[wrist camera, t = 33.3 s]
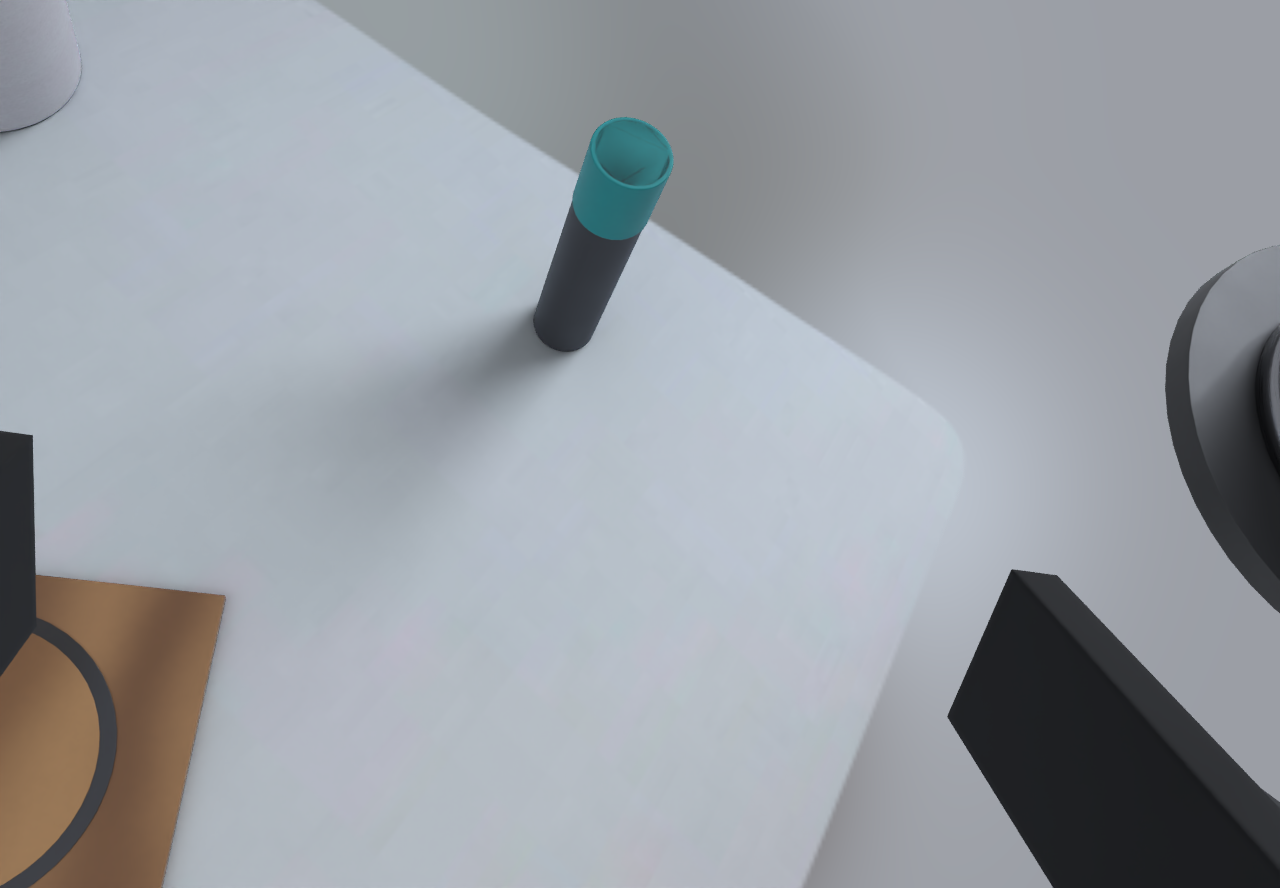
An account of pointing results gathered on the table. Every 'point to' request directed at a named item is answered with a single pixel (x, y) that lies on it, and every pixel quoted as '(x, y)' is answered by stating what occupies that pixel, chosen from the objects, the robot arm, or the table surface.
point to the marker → (601, 228)
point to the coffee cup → (36, 61)
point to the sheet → (101, 732)
